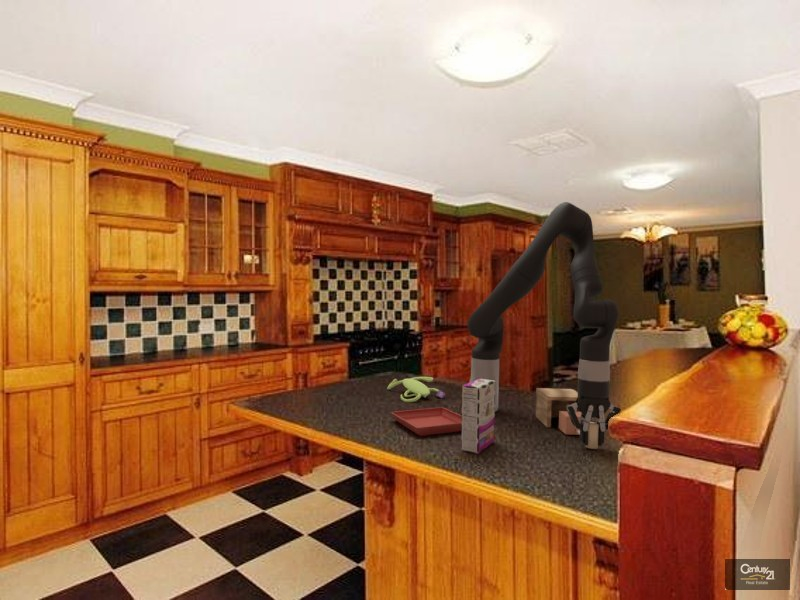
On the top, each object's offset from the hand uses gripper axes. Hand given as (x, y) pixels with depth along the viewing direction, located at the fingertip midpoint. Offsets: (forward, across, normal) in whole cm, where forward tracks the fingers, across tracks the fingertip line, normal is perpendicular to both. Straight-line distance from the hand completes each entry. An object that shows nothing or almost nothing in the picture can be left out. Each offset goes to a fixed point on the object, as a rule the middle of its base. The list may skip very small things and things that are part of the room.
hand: (591, 444), depth 121 cm
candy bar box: (+1, -29, 0) cm, 29 cm away
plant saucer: (+2, -40, +17) cm, 44 cm away
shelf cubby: (+1, 0, +24) cm, 24 cm away
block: (+1, 0, +7) cm, 8 cm away
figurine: (+1, -43, +59) cm, 73 cm away
